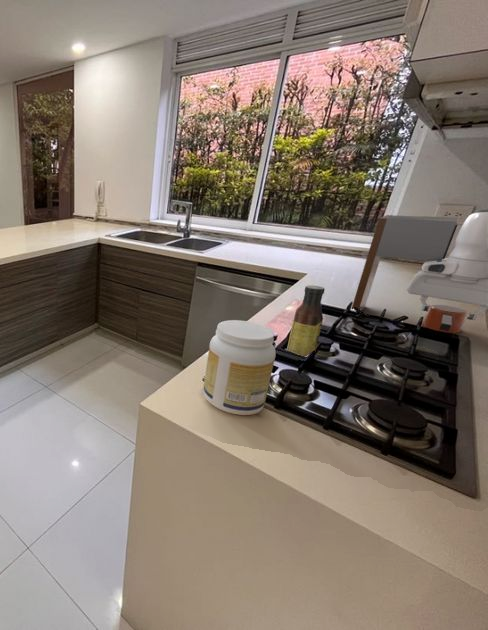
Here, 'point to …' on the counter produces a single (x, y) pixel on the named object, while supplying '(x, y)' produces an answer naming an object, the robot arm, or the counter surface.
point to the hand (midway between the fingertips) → (446, 314)
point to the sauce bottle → (307, 322)
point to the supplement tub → (239, 367)
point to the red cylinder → (445, 318)
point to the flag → (405, 245)
